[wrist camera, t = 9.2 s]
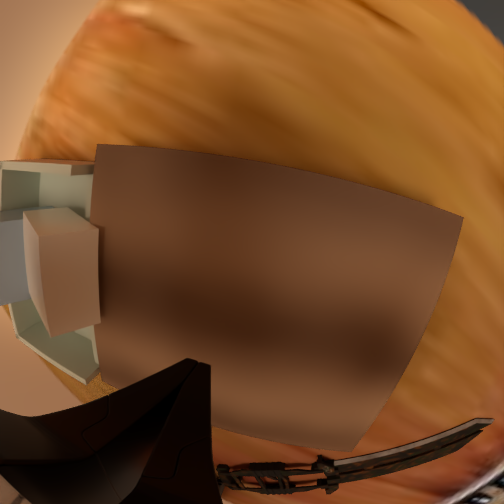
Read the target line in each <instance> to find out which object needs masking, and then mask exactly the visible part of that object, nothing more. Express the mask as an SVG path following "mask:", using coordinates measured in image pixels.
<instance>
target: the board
mask: <svg viewBox="0 0 504 504" xmlns="http://www.w3.org/2000/svg"><path fill="white" fill-rule="evenodd" d="M463 218H464V217H461V216H459V215H456V214H453V213H451V212H448V211H445V210H442V209H440V208H437V207H434V206H431V205H428V204H425V203H422V202H419V201H416V200H413V199H410V198H407V197H404V196H400V195H397V194H394V193H391V192H387V191H384V190H380V189H377V188H373V187H370V186H366V185H363V184H359V183H355V182H351V181H347V180H343V179H339V178H335V177H331V176H327V175H323V174H319V173H314V172H310V171H305V170H301V169H296V168H291V167H286V166H281V165H276V164H271V163H265V162H260V161H254V160H248V159H242V158H236V157H229V156H223V155H216V154H209V153H201V152H193V151H184V150H175V149H165V148H154V147H142V146H127V145H108V144H97V149H96V156H95V164H94V172H93V182H92V194H91V208H90V223H91V224H92V225H94V226H95V227H97V228H98V229H99V235H98V285H99V306H100V320H101V323H99V324H95V325H94V333H95V341H96V348H97V355H98V361H99V367H100V373H101V378H102V381H104V382H105V383H107V384H109V385H111V386H113V387H115V388H117V389H119V390H120V389H122V388H124V387H127V386H129V385H131V384H133V383H135V382H138V381H140V380H142V379H144V378H146V377H148V376H151V375H153V374H155V373H157V372H159V371H161V370H163V369H165V368H167V367H169V366H171V365H173V364H175V363H177V362H179V361H181V360H183V359H185V358H191V359H194V360H197V361H198V362H203V363H206V364H210V365H211V426H214V427H217V428H221V429H224V430H228V431H232V432H235V433H239V434H243V435H247V436H251V437H255V438H260V439H264V440H269V441H274V442H279V443H284V444H290V445H296V446H302V447H309V448H316V449H324V450H333V451H344V452H351V451H352V450H353V449H354V448H355V446H356V445H357V444H358V442H359V441H360V440H361V438H362V437H363V436H364V434H365V433H366V431H367V430H368V429H369V427H370V426H371V424H372V423H373V421H374V420H375V419H376V417H377V416H378V414H379V413H380V411H381V409H382V408H383V406H384V405H385V403H386V402H387V400H388V398H389V397H390V395H391V394H392V392H393V390H394V389H395V387H396V385H397V383H398V382H399V380H400V378H401V376H402V375H403V373H404V371H405V369H406V367H407V365H408V364H409V362H410V360H411V358H412V356H413V354H414V352H415V350H416V348H417V346H418V344H419V342H420V340H421V338H422V336H423V333H424V331H425V329H426V327H427V325H428V322H429V320H430V318H431V315H432V313H433V311H434V308H435V306H436V303H437V301H438V298H439V296H440V293H441V290H442V288H443V285H444V282H445V279H446V276H447V274H448V271H449V268H450V265H451V261H452V258H453V255H454V252H455V248H456V245H457V241H458V238H459V234H460V230H461V226H462V222H463Z"/></svg>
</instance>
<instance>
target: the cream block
mask: <svg viewBox="0 0 504 504" xmlns="http://www.w3.org/2000/svg"><path fill="white" fill-rule="evenodd" d="M23 235H24V252H25V264H26V273H27V281H28V288H29V293H30V296H31V298H32V300H33V303H34V305H35V307H36V309H37V311H38V313H39V315H40V317H41V319H42V321H43V323H44V325H45V327H46V329H47V331H48V333H49V335H50V337H55V336H58V335H62V334H65V333H69V332H72V331H75V330H79V329H82V328H85V327H89V326H92V325H95V324H99V323H101V320H100V306H99V285H98V235H99V229H98V228H97V227H95V226H94V225H92V224H91V223H89V222H88V221H87V220H85V219H84V218H82V217H81V216H79V215H78V214H77V213H75V212H74V211H72V210H71V209H70V208H68V207H64V208H52V209H41V210H31V211H23Z"/></svg>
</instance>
